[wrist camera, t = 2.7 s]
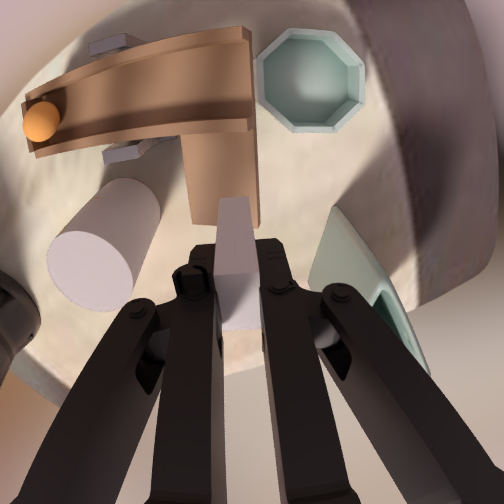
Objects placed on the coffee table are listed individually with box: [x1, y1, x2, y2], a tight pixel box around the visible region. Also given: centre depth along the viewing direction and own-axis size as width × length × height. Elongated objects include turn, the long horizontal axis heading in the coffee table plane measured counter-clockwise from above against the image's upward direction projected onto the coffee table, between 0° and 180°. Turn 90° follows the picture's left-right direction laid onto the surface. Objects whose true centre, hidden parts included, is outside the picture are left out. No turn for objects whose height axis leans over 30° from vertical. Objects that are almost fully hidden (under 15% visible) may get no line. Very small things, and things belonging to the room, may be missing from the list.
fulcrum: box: [89, 33, 176, 165], centre depth 20 cm, size 5×10×10 cm, turn 3°
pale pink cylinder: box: [47, 178, 161, 312], centre depth 26 cm, size 8×8×12 cm
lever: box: [21, 26, 260, 229], centre depth 19 cm, size 20×13×3 cm
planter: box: [308, 206, 431, 376], centre depth 29 cm, size 16×8×20 cm, turn 33°
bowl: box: [253, 28, 365, 133], centre depth 23 cm, size 10×10×4 cm
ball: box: [23, 101, 60, 142], centre depth 17 cm, size 4×4×4 cm
